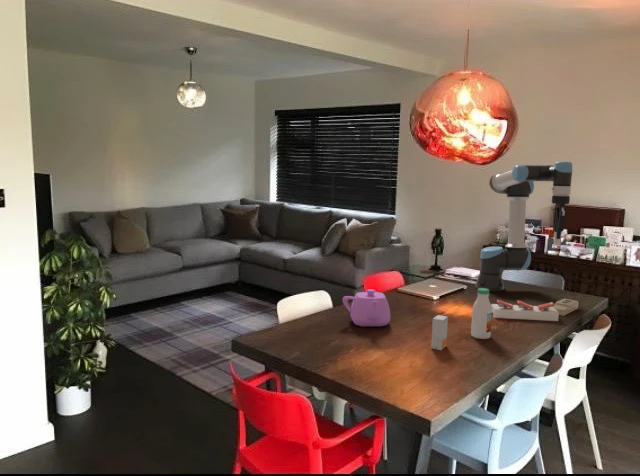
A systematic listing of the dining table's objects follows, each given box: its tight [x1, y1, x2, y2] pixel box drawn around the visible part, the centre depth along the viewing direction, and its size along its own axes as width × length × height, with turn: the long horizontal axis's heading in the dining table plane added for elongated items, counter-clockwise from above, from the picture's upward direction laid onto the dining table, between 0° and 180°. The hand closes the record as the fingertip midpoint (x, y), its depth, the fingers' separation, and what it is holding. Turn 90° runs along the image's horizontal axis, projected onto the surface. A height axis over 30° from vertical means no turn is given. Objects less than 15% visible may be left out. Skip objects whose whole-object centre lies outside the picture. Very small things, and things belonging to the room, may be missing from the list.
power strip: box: [490, 303, 560, 322], centre depth 246 cm, size 9×35×5 cm, turn 82°
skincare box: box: [430, 314, 449, 351], centre depth 204 cm, size 6×4×12 cm
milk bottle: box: [470, 288, 493, 340], centre depth 216 cm, size 8×8×20 cm
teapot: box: [342, 289, 391, 328], centre depth 229 cm, size 23×21×15 cm
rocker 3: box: [536, 301, 555, 310], centre depth 242 cm, size 3×7×1 cm, turn 82°
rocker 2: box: [516, 299, 534, 310], centre depth 243 cm, size 3×7×1 cm, turn 82°
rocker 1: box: [496, 299, 514, 308], centre depth 244 cm, size 3×7×1 cm, turn 81°
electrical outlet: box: [553, 298, 579, 317], centre depth 256 cm, size 7×4×18 cm
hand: (556, 245), depth 248 cm, fingers closed
